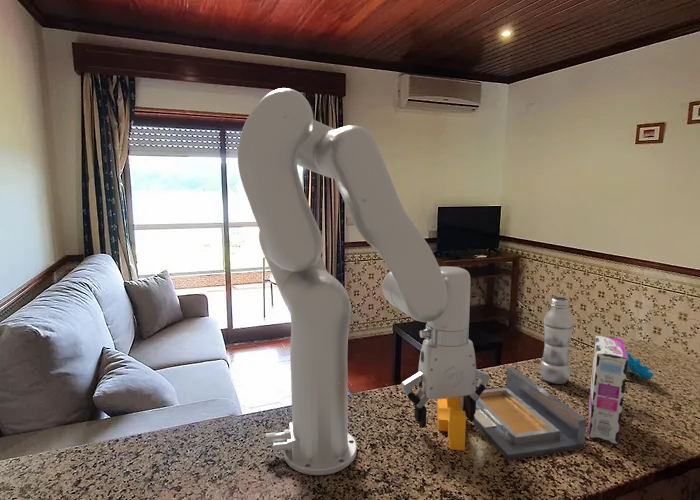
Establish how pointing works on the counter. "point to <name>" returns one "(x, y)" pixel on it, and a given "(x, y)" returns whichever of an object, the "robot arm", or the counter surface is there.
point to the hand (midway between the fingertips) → (445, 420)
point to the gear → (638, 367)
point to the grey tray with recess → (527, 419)
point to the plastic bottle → (557, 342)
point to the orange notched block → (452, 421)
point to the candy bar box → (607, 389)
